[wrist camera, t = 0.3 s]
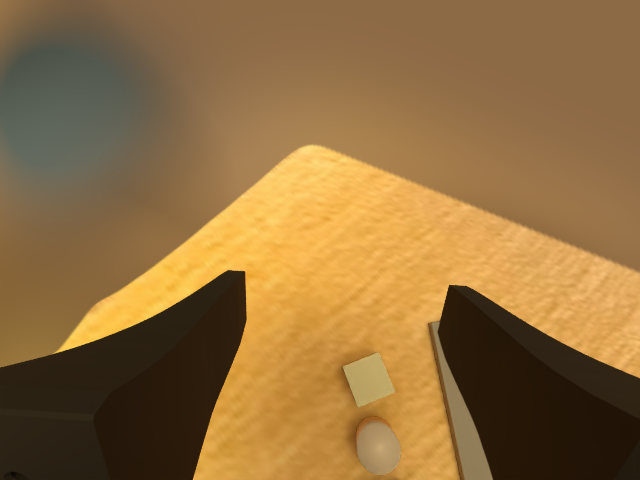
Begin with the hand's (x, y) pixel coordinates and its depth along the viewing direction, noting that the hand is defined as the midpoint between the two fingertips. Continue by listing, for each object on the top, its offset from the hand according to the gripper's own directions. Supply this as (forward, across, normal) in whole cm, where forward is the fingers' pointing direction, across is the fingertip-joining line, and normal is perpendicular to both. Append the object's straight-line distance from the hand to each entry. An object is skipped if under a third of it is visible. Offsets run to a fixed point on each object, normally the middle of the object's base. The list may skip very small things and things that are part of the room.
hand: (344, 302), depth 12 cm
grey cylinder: (+14, -6, +26) cm, 31 cm away
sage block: (+18, -5, +22) cm, 29 cm away
